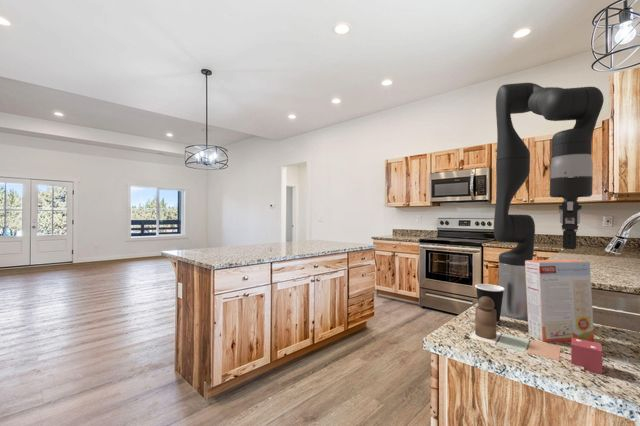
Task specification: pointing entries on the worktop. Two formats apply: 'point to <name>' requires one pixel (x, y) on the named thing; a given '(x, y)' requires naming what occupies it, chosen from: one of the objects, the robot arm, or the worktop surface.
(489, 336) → the pawn
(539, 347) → the board
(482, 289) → the dixie cup
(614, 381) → the worktop surface
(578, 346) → the die
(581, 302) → the cracker box
